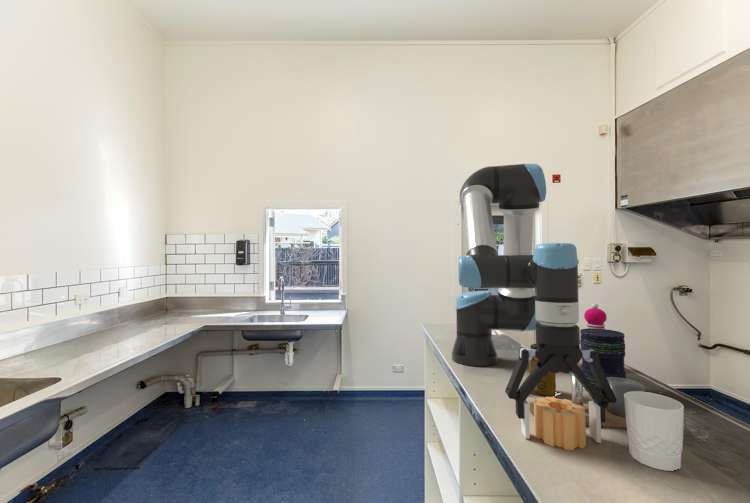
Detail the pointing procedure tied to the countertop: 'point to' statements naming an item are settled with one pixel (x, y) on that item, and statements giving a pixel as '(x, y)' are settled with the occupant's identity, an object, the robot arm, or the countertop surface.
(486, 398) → the countertop surface
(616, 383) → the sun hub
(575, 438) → the planet gear
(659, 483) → the countertop surface
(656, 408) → the white cup
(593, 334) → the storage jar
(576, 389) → the steel pin
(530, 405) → the carrier bar
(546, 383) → the condiment
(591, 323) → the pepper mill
